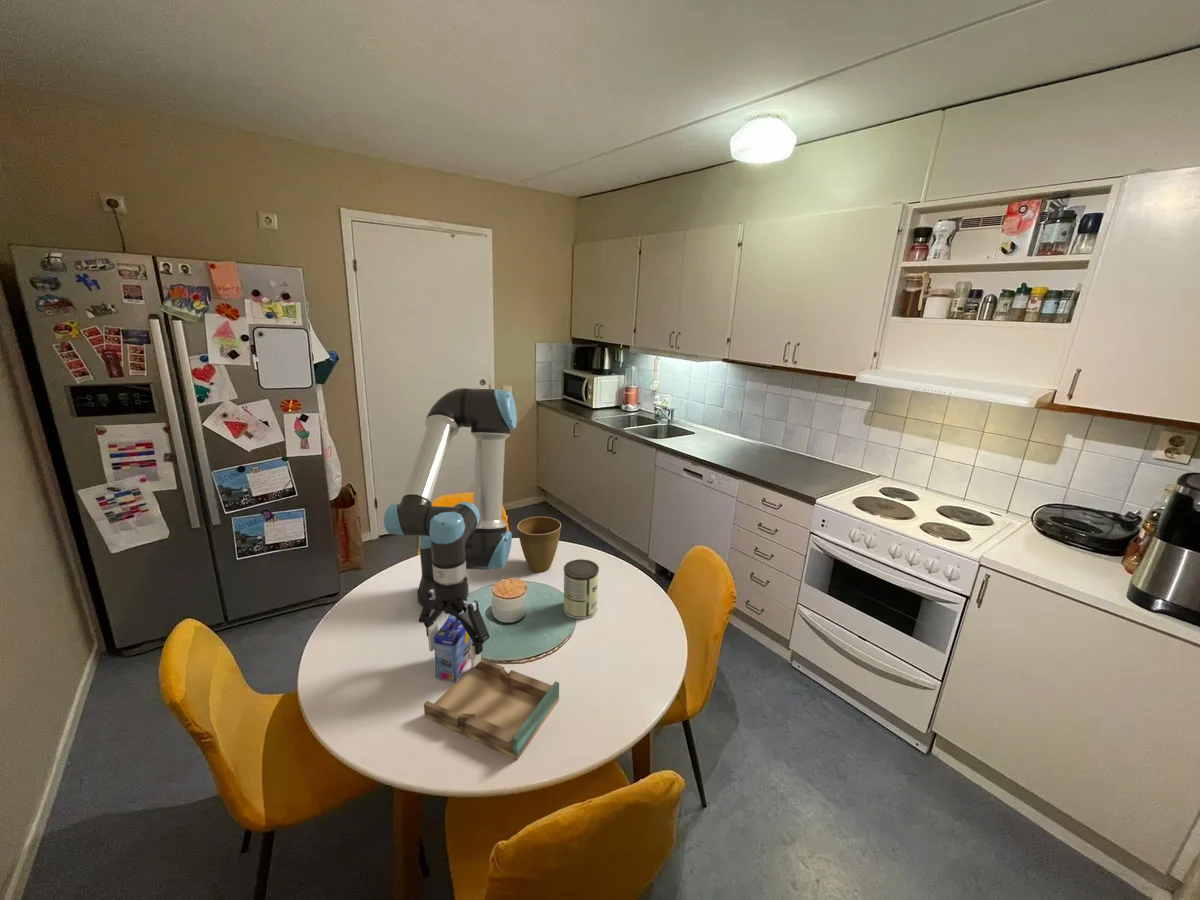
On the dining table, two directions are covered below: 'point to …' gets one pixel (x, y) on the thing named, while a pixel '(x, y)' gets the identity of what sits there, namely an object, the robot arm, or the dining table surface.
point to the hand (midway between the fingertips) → (454, 655)
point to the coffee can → (580, 588)
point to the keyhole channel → (495, 707)
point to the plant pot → (539, 541)
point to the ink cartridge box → (451, 649)
